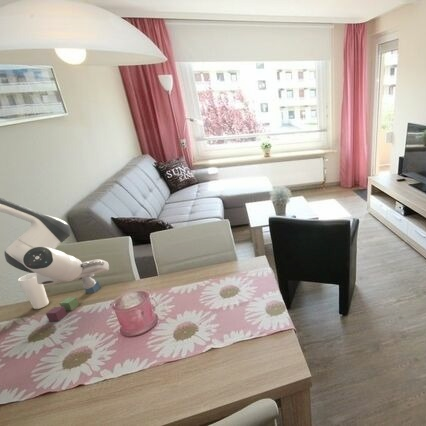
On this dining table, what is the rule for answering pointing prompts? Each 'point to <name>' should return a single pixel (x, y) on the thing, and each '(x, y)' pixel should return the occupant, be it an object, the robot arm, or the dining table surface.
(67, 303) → the block
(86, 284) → the rook chess piece
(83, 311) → the dining table surface
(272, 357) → the dining table surface
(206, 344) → the dining table surface
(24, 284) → the white tall hollow cylinder
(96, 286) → the block
